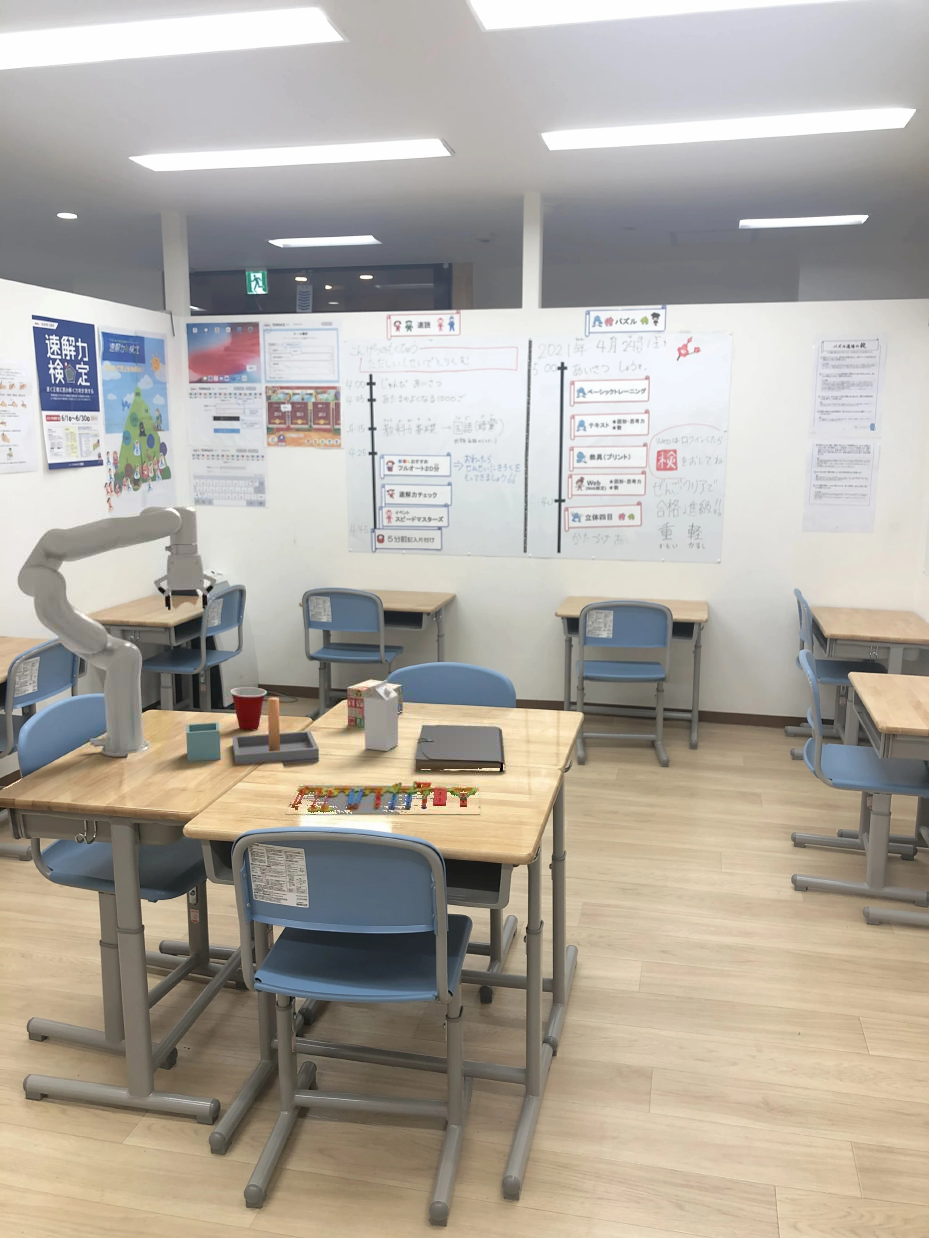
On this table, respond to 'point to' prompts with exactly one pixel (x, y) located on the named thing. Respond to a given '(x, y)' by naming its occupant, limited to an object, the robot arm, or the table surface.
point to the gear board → (376, 797)
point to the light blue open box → (203, 742)
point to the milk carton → (381, 718)
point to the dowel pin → (273, 724)
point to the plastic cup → (248, 706)
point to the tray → (291, 751)
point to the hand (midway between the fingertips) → (186, 608)
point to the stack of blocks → (357, 700)
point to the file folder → (459, 747)
